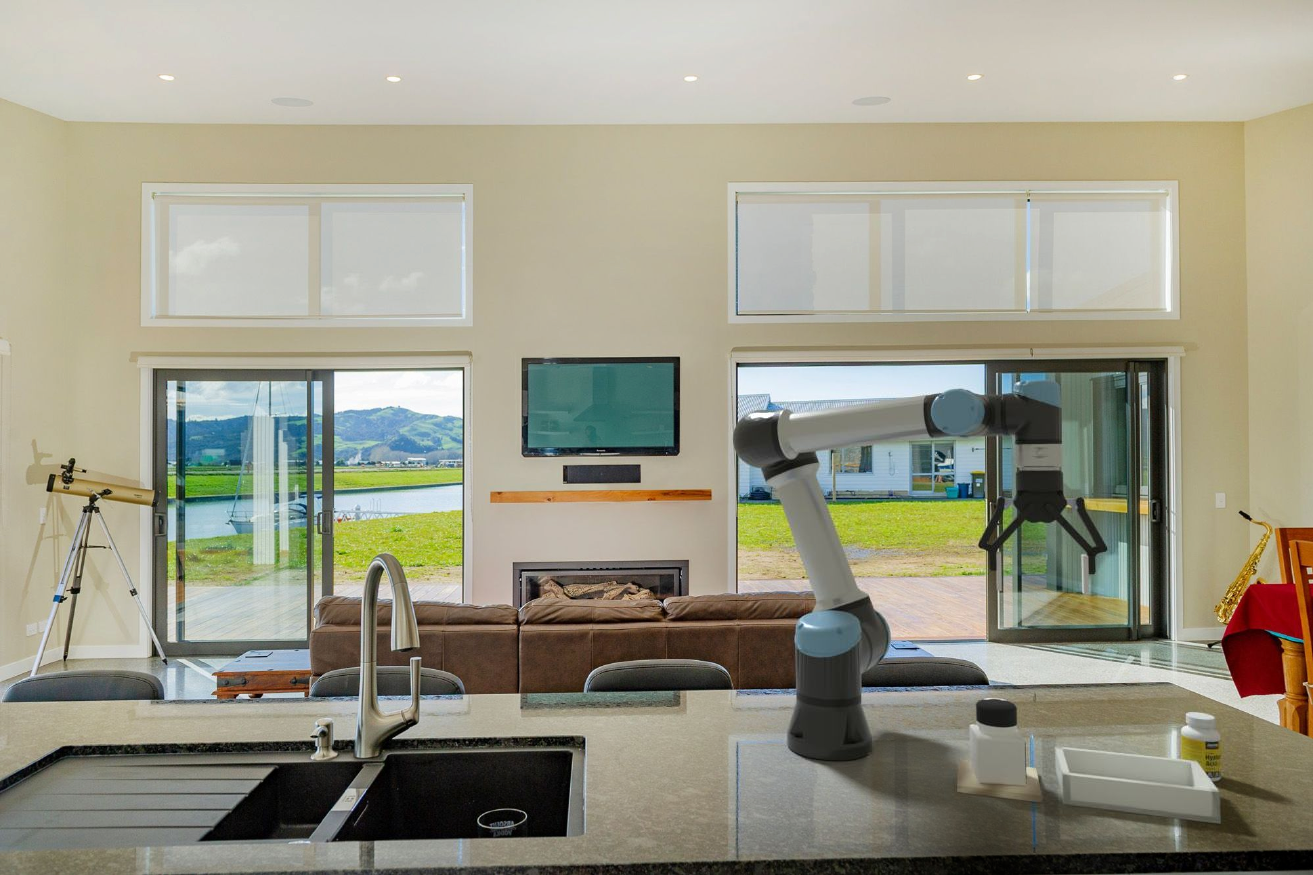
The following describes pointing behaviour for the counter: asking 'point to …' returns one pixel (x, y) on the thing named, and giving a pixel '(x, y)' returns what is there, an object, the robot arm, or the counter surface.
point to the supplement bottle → (1202, 743)
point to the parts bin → (1136, 784)
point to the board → (998, 785)
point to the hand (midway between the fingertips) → (1041, 591)
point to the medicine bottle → (997, 744)
